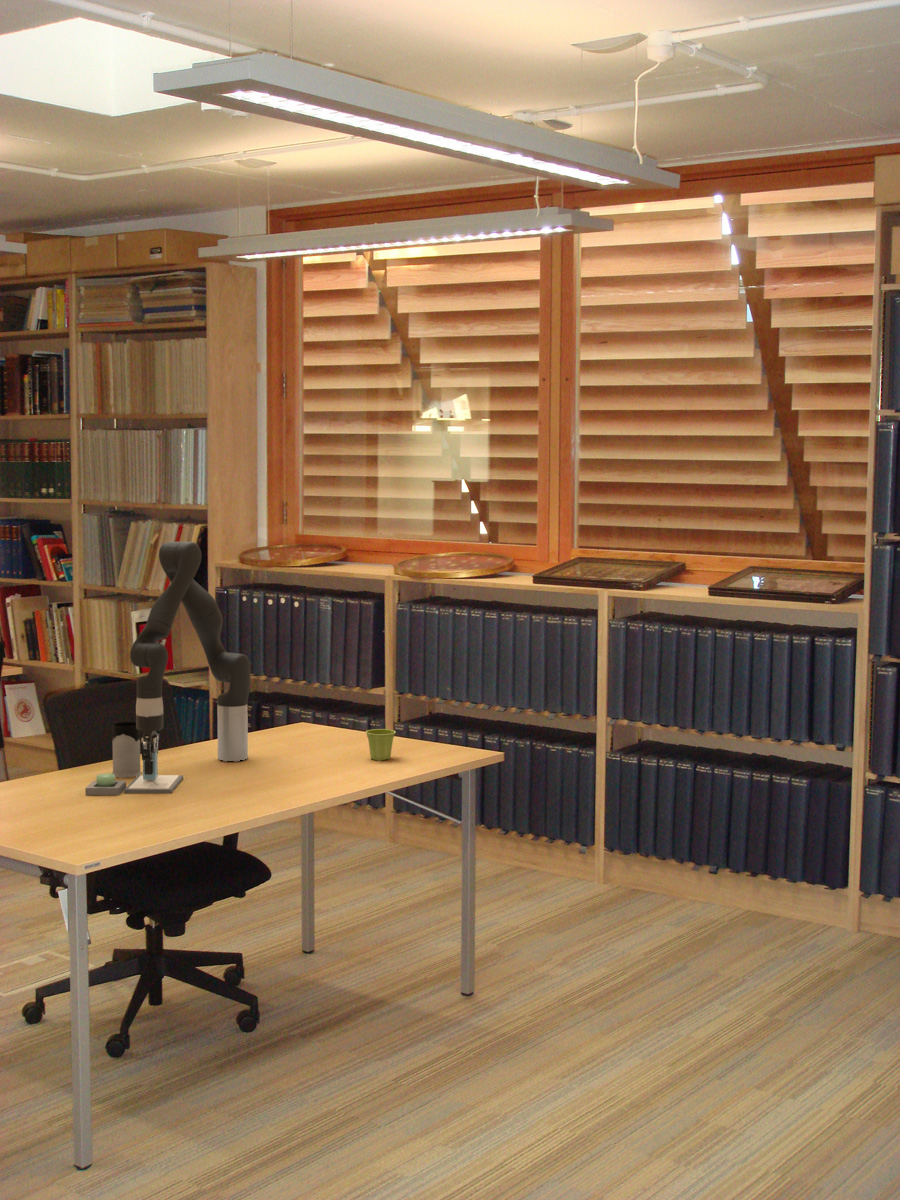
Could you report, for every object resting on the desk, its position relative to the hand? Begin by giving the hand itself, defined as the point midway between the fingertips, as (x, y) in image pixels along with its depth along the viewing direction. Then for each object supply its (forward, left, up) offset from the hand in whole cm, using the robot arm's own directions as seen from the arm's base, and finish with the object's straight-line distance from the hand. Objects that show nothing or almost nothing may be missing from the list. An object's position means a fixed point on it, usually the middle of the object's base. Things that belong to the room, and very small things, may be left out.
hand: (150, 772), depth 365 cm
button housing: (+8, -11, -4) cm, 14 cm away
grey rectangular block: (0, 0, -2) cm, 2 cm away
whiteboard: (+1, +1, -4) cm, 4 cm away
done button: (+8, -11, -2) cm, 14 cm away
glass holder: (-16, -10, -4) cm, 19 cm away
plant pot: (-36, +64, -4) cm, 74 cm away
